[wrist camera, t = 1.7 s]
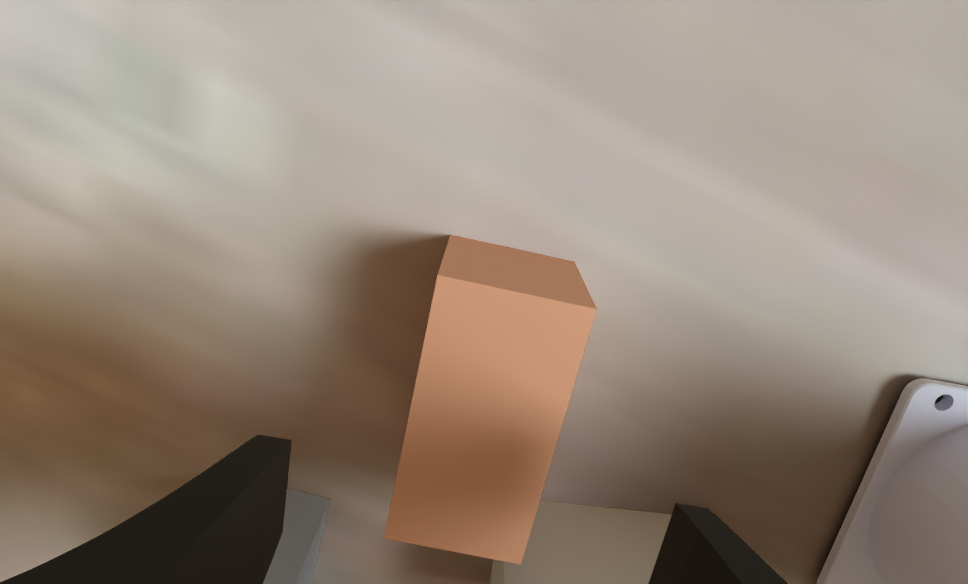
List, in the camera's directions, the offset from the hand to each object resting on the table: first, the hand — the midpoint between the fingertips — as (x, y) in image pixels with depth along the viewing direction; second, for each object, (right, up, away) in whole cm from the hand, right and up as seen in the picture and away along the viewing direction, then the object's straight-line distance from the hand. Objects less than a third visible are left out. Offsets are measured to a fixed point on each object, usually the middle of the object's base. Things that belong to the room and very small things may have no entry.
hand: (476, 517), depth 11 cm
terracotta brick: (0, +2, +7) cm, 7 cm away
